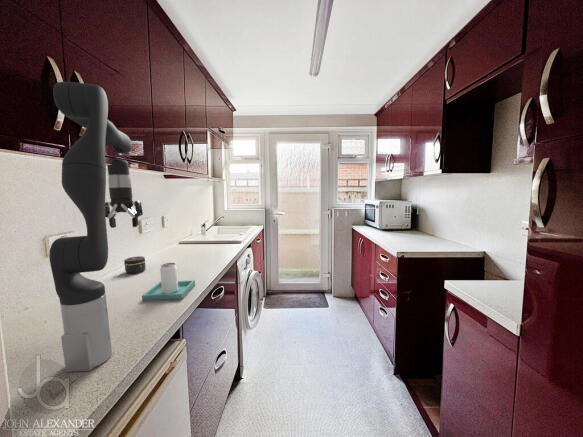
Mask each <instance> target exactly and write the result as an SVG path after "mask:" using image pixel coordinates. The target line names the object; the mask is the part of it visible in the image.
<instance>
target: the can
mask: <svg viewBox="0 0 583 437" xmlns="http://www.w3.org/2000/svg"><path fill="white" fill-rule="evenodd" d="M159 270H160V271H159V272H160V282H161V285H162V293H163V294H172V293H175V292H177V291H178V281H179V279H178V269H177V265H176V263H175V262H167V263H162V264H161V265H160V268H159Z"/></svg>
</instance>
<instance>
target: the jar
mask: <svg viewBox="0 0 583 437" xmlns="http://www.w3.org/2000/svg"><path fill="white" fill-rule="evenodd" d="M123 262H124V263H123V265H124V270H125V273H126V274H127V275H137V274H140V273H144V272H145V270H146V258H145V256H142V255H140V256H139V255H137V256H133V257H128V258H125V259H124V261H123Z"/></svg>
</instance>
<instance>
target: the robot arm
mask: <svg viewBox="0 0 583 437" xmlns="http://www.w3.org/2000/svg"><path fill="white" fill-rule="evenodd" d="M52 91H53V93H52V95H53V99H54V100H53V101H54V104H55V105H56V107H57V108H58V111H60V113H61V114H62V115H63V116H65V117H67V118H68V119H70V120H71V121H73V122H75V123H77V124H78V125H80V126H81V127H82V128H84V129H85V130H84V131H83V134H82V135H81V136H80V137H79V138H78V140H76V141H75V143H74V144H73V145H72V146H71V147H70V148H69V149H68V151H67V152H66V153H65V154H64V156H63V158H62V162H61V185H62V188H63V190H64V192H65V193H66V195H67V197H68V198H69V199H70V200H71V201H72V203H73V204H74V205H75V206H76V208H77V209H78V210H79V211H80V213H81V215H82V216H83V219H84V221H85V224H86V225H85V226H86V235H81V236H80V235H79V236H78V235H77V236H66V237H59V238H56V239H55V240H54V241H53V242H52V244H51V245H50V249H49V264H50V270H51V274H52V278H53V282H54V288H55V292H56V295H57V297H58V298H59V305H60V312H61V318H62V327H63V334H62V335H61V338H60V339H61V346H62V347H61V348H62V352H63V360H64V368H65V372H66V373H68V372H69V373H70V372H88V371H89V372H90V371H92V370H93V369H94V368H96V367H99V366H100V365H103V363H105V362H106V361H107V360H109V359H110V358H111V357H112V355H113V349H112V348H113V347H112V340H111V331H110V323H109V314H108V304H107V294H106V289H105V288H106V287H105V284H104V283H103V282H102V281H99V280H96V279H95V280H94V279H90V278H88V277H85V276H84V275H82V273H90V272H91V273H92V272H99V271H101V270H104V269H105V268H106V266H107V264H108V260H109V259H108V258H109V242H108V230H107V221H106V220H107V219H108V223H109V227H110V228H111V229H115V228H116V227H117V223H116V220H117V219H116V216H117V214H118V213H127V214H129V216H130V217H131V222H132V227H133V228H137V227H138V226H139V217H141V216H143V214H144V213H143V207H142V206H143V205H142V201H141V200H135V201H134V200H133V190H132V189H133V188H132V181H131V177H130V167H129V162H128V161H127V160H125V159H122V158H121V159H120V158H116V159H115V160H114V161H113V164H112V165H107V162H106V159H105V145H109V146H114V148H115V150H116V151H117V152H118V153H117V154H129V153H130V152H131V151H132V149H133V143H132V140H131V139H130V138H131V137H130V136H128V135H127V134H126V133H124V132H122V131H121V130H119V129H117V127H116V125H114V123H113V122H112V121H110V120H109V119H108V115H109V102H108V97H107V94H106V91H105V90H104V88H103V87H101V86H100V85H97V84H93V83H84V82H73V81H59V82H57V83H55V84H54V86H53V90H52ZM107 176H108V180H107ZM107 182H108V183H107ZM107 185H108V192H109V193H108V194H109V199H110V201H106V192H107V190H106V189H107ZM133 206H134V207H135V209H134V208H133ZM106 218H107V219H106Z"/></svg>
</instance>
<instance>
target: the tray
mask: <svg viewBox="0 0 583 437" xmlns="http://www.w3.org/2000/svg"><path fill="white" fill-rule="evenodd" d="M195 286H196V280H192V279H191V280H178V291H177V292H175V293H172V294H163V293H162V285H161V281H159V282H158V283H157V284H155V285H154V286H152V287H151V288H150V289H149V290H147V291H146V292H144V293H143V294H142V295H141V300H142V301H141V302H158V301H160V302H161V301H163V302H164V301H183V300H184V298H186V296H187V295H188V294H189V293H190V292H191V291H192V289H193V288H194V287H195Z"/></svg>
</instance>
